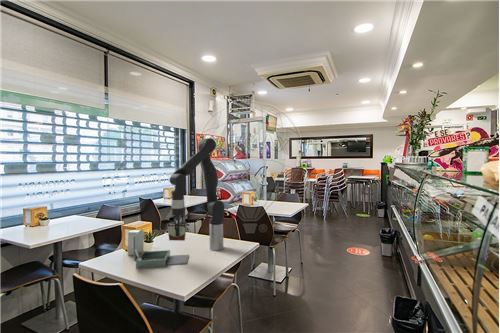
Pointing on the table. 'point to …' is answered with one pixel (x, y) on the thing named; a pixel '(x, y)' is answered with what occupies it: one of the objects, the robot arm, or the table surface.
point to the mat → (178, 259)
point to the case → (148, 254)
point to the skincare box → (132, 241)
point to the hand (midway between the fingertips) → (178, 234)
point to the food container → (173, 232)
